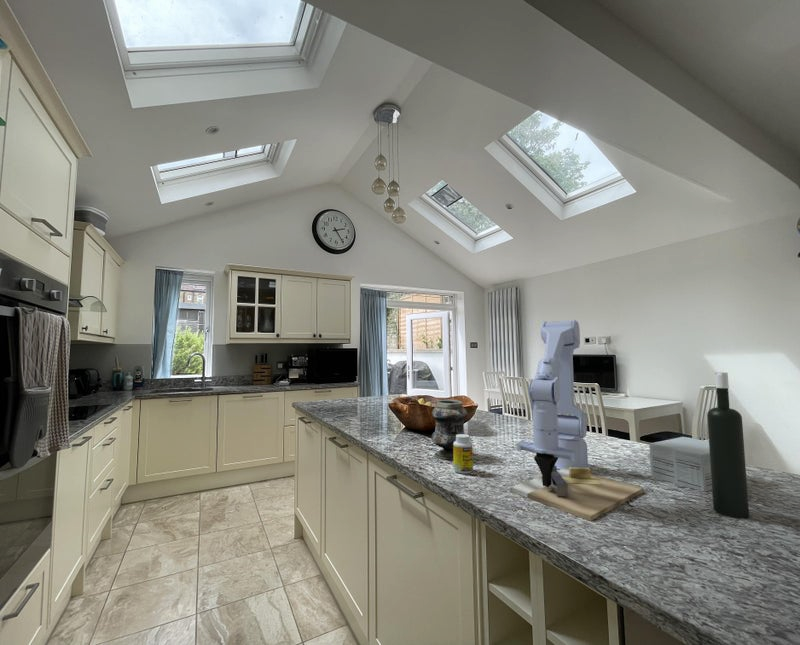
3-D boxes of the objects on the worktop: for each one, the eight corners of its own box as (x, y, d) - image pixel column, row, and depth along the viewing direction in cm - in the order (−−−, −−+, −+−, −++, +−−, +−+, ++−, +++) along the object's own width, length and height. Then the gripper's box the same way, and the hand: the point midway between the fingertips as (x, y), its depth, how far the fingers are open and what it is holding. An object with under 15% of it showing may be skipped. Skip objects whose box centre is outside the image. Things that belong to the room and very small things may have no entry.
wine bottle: (752, 521, 76) (741, 373, 78) (716, 514, 79) (706, 372, 81) (745, 510, 81) (735, 372, 83) (711, 505, 84) (702, 371, 86)
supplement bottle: (462, 475, 104) (462, 438, 105) (449, 470, 109) (449, 434, 109) (477, 472, 107) (476, 436, 108) (463, 467, 112) (463, 432, 112)
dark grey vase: (471, 461, 118) (469, 403, 119) (433, 461, 118) (432, 403, 119) (464, 450, 130) (463, 398, 131) (430, 450, 130) (429, 398, 131)
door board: (566, 471, 107) (566, 458, 108) (643, 492, 91) (642, 477, 92) (510, 491, 92) (509, 476, 92) (590, 521, 76) (589, 502, 76)
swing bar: (542, 476, 99) (542, 461, 100) (555, 476, 99) (555, 462, 99) (555, 495, 86) (554, 479, 86) (569, 496, 85) (569, 479, 86)
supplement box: (684, 467, 111) (682, 435, 111) (739, 481, 99) (736, 446, 100) (649, 476, 103) (647, 442, 104) (704, 492, 92) (702, 453, 92)
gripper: (510, 426, 94) (511, 481, 93) (568, 436, 83) (570, 498, 82) (524, 422, 99) (525, 475, 98) (580, 431, 88) (583, 490, 87)
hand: (547, 485), depth 90 cm, fingers closed, pressing on swing bar
